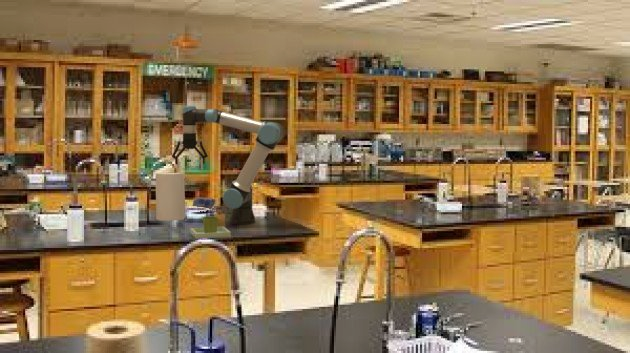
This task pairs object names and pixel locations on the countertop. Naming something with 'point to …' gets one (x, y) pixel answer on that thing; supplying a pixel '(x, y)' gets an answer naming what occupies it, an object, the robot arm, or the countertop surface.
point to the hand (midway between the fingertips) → (190, 169)
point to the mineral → (204, 202)
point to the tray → (200, 233)
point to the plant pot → (210, 224)
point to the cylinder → (170, 196)
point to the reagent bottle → (220, 217)
